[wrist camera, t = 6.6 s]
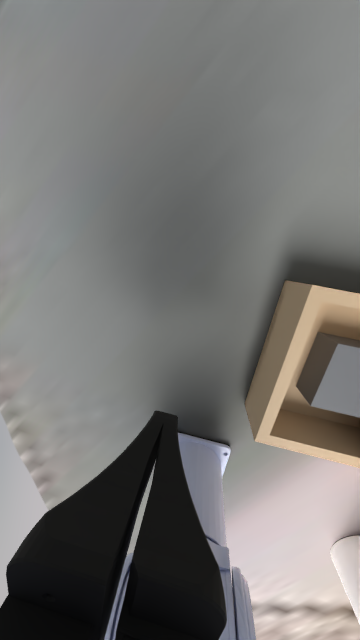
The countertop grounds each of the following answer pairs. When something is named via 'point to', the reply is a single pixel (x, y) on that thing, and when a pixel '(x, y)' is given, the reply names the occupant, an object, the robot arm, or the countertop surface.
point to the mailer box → (310, 375)
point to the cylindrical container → (349, 568)
